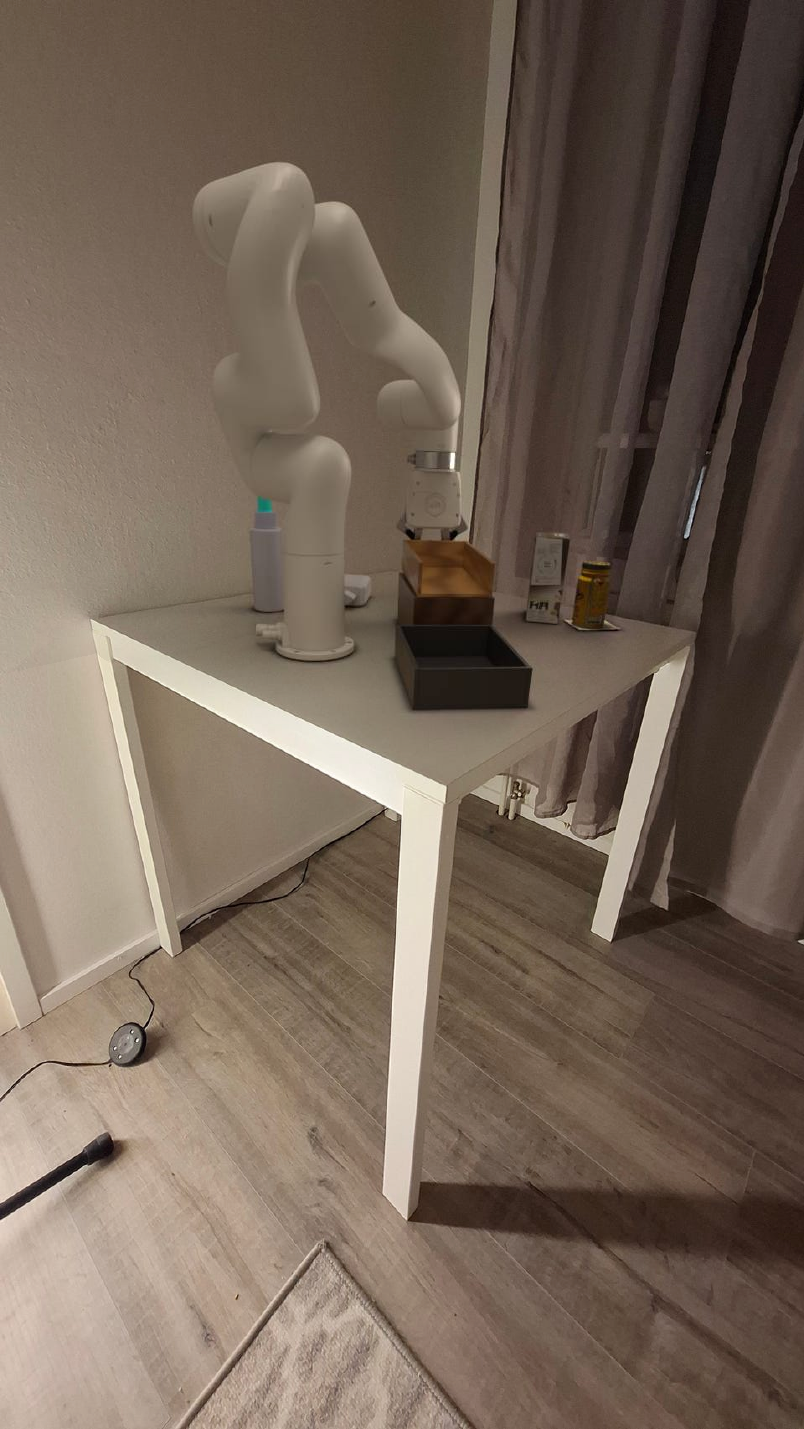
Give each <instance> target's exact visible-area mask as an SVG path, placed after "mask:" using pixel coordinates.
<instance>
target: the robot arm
mask: <svg viewBox="0 0 804 1429" xmlns="http://www.w3.org/2000/svg"><path fill="white" fill-rule="evenodd" d="M191 219H192V228H193V231H194V234H195V237H196V238H197V241H198V244H199V245H200V246H201V248H202V250H203V252H204V253H205V254H206V255H207V256H208V257H209V258H210V259H212V260H213V261H214V262H215V263H217V264H218V265H219V266H222V267H223V268H225V269H227V274H226V285H225V302H226V310H227V315H228V319H229V324H230V326H231V330H232V334H233V336H234V340H235V344H236V346H237V352H233V353H231V354H228V355H226V356H225V357H223V358H222V359H221V360H220V361H219V362H218V363H217V365H216V367H215V368H214V371H213V374H212V379H211V397H212V403H213V408H214V410H215V413H216V416H217V419H218V422H219V424H220V427H221V430H222V432H223V434H224V437H225V440H226V442H227V444H228V447H229V450H230V452H231V455H232V457H233V460H234V462H235V465H236V468H237V470H238V472H239V474H240V476H241V477H240V478H241V479H242V480H243V483H244V484H245V486H246V487H247V489H248V490H249V491H250V492H251V493H252V494H253V495H255V496H256V497H257V496H258V497H260V498H262V499H265V500H269V501H271V502H276V503H285V504H289V506H288V509H287V511H286V515H285V517H284V520H283V522H282V526H281V529H282V530H281V556H282V579H283V602H284V609H283V617H282V621H276V624H268V623H256V625H255V632H256V637H262V639H263V640H268V639H269V640H270V639H271V640H272V639H277V640H276V641H275V651H276V652H277V653H278V654H279V655H280V656H282V657H286V658H288V659H293V660H297V661H298V660H299V661H309V662H310V661H311V662H313V661H314V662H315V661H316V662H317V661H318V662H319V661H330V660H336V659H341V658H345V657H346V656H348V655H350V654H352V653H353V652H354V651H355V641H354V640H353V638H351V637H349V636H348V635H346V634H345V633H346V626H345V625H346V622H345V621H346V616H345V615H346V613H345V612H346V609H345V608H346V606H345V574H346V573H345V526H346V525H345V524H346V512H347V505H348V500H349V494H350V488H351V482H352V464H351V459H350V457H349V455H348V453H347V450H345V448H344V447H343V446H342V445H341V444H340V443H339V442H337V441H335V439H333V438H330V437H329V436H328V437H327V436H324V435H319V434H308V433H290V434H289V433H282V430H295V429H302V428H304V427H307V426H309V425H311V424H312V423H313V422H314V421H315V420H317V418H318V416H319V413H320V410H321V394H320V388H319V384H318V379H317V376H316V372H315V369H314V366H313V362H312V358H311V355H310V350H309V348H308V344H307V340H306V336H305V332H304V330H303V326H302V322H301V317H300V314H299V310H298V309H299V308H298V304H297V288H302V287H309V286H315V285H316V286H319V288H320V289H321V291H322V293H323V295H324V297H325V298H326V300H327V302H328V304H329V306H330V309H331V310H332V312H333V314H334V317H335V318H336V319H337V321H338V323H339V326H341V329H342V331H343V333H344V335H345V337H346V338H347V340H348V342H349V343H350V344H351V345H352V346H353V347H354V348H356V349H357V350H359V351H361V352H363V353H365V354H367V355H369V356H372V357H373V358H376V359H379V360H381V361H384V362H386V363H388V364H391V365H393V366H394V367H396V368H398V369H399V370H401V371H403V372H404V373H405V374H406V375H408V376H409V377H410V378H411V379H401V380H393V381H391V382H389V383H387V384H386V385H384V386H383V387H382V388H381V389H380V391H379V392H378V394H377V397H376V403H375V404H376V412H377V416H378V418H379V419H380V421H381V422H382V423H383V424H384V425H385V426H386V427H388V428H390V429H392V430H395V431H415V436H414V438H415V439H414V451H413V453H410V454H406V456H405V457H406V459H405V460H406V461H405V462H406V463H407V464H411V465H413V469H410V472H409V475H408V480H407V486H406V495H405V505H404V510H403V512H402V513H401V515H400V517H399V518H398V520H397V522H396V523H395V528H396V529H397V530H398V531H399V532H401V533H402V534H404V535H406V536H407V538H408V539H409V540H422V535H423V529H424V530H425V529H426V530H427V529H428V530H429V529H431V530H440V541H454V540H455V539H456V538H457V537H458V536H459V535H461V534H462V533H464V532H467V530H468V528H469V526H468V525H467V522H466V521H465V518H464V517H463V514H462V481H461V480H462V479H461V472H460V471H456V468H457V466H456V465H457V463H456V462H457V453H458V452H457V450H458V436H459V420H460V415H461V411H462V410H461V409H462V398H461V392H460V388H459V384H458V382H457V379H456V376H455V373H454V370H453V368H452V366H451V363H450V361H449V358H448V356H447V354H446V353H445V352H444V350H443V348H442V347H441V346H440V344H439V343H438V342H437V341H436V340H435V339H434V338H433V337H432V336H431V335H430V334H429V333H428V332H427V331H426V330H424V329H423V328H422V326H420V325H419V324H418V323H417V322H416V321H414V320H413V319H412V318H411V317H409V316H408V315H407V314H406V313H404V312H403V311H402V310H401V309H400V307H399V306H398V303H397V302H396V300H395V297H394V295H393V293H392V290H391V287H390V286H389V283H388V281H387V278H386V276H385V274H384V271H383V269H382V266H381V265H380V262H379V260H378V258H377V256H376V253H375V251H374V249H373V247H372V244H371V242H370V240H369V236H368V234H367V232H366V230H365V228H364V226H363V223H362V222H361V219H360V218H359V216H358V214H357V213H356V211H355V210H354V209H353V208H352V207H351V206H349V205H348V204H345V202H341V201H325V202H319V203H316V201H315V195H314V190H313V187H312V185H311V181H310V180H309V178H308V176H307V174H306V173H305V172H304V171H303V170H302V169H301V168H300V167H298V166H296V165H294V164H292V163H290V162H284V161H283V162H282V161H280V162H279V161H277V162H269V163H265V164H261V165H257V166H254V167H252V168H251V167H250V168H247V169H244V170H242V171H240V172H237V173H234V174H230V175H228V176H225V177H221V178H218V179H215V180H213V181H210V182H209V183H207V184H206V185H204V186H203V187H201V189H200V190H199V191H198V192H197V194H196V195H195V198H194V200H193V204H192V209H191ZM406 524H407V525H408V526H409V527H411V528H412V529H413V530H411V529H410V528H409V527H407V526H406Z"/></svg>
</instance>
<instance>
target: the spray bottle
mask: <svg viewBox="0 0 804 1429" xmlns="http://www.w3.org/2000/svg"><path fill="white" fill-rule="evenodd" d="M256 499H257V510H255V511H254V526H252V527H250V528H249V531H248V532H249V544H250V561H251V576H252V579H251V580H252V592H253V593H252V594H253V595H252V596H253V606H254V607H253V608H254V610H256V611H258V612H261V613H277V612H281V611H284V602H283V579H282V556H281V530H282V527H279V526H278V525H277V515H276V511H274V510H273V506H272V504H273V503H272V501H269V500H265V499H262V498H260V497H258V496H256Z"/></svg>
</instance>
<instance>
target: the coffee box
mask: <svg viewBox="0 0 804 1429" xmlns="http://www.w3.org/2000/svg"><path fill="white" fill-rule="evenodd" d="M534 535H535V536H534V541H533V551H532V558H531V566H530V576H529V584H528V592H527V600H526V601H527V602H526V603H527V604H526V613H525V614H526V615H525V621H526V622H531V623H541V624H543V623H544V624H552V625H557V624H558V623H559V617H560V610H561V605H562V598H563V591H564V583H565V577H566V571H567V564H568V558H569V552H570V544H571V538H570V535H569V533H567V532H549V531H547V532H542V531H538V532H537V531H536V532H535V534H534Z"/></svg>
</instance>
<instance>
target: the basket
mask: <svg viewBox="0 0 804 1429" xmlns="http://www.w3.org/2000/svg"><path fill="white" fill-rule="evenodd" d="M394 638H395V641H394V642H395V644H394V660H395V663H396V666H397V669H398V671H399V674H400V678H401V680H402V683H403V685H404V689H405V692H406V694H407V698H408V700H409V703H410V705H411V708H412V710H414V711H415V710H416V711H418V710H419V711H420V710H459V709H460V710H463V709H464V710H469V709H470V710H471V709H473V710H474V709H522V708H523V709H526V708H527V709H528V707H529V699H530V692H531V686H532V685H531V683H532V676H533V668H534V667H532V665H530V664H529V663H528V662H527V660H526V659H525V658H524V657H523V656H522V655H521V654H520V653H519V652H518V651H517V650H516V649H515V647H513V645H512V644H511V643H510V642H509V641H508V640H507V639H506V638H505V637H504V636H503V634H501V633H500V632H499V631H498V629H497V628H496V627H494V625H493V624H492V625H399V624H395V637H394Z"/></svg>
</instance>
